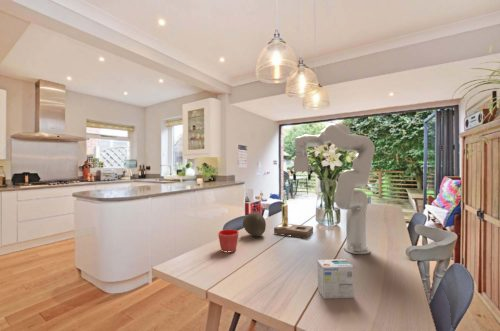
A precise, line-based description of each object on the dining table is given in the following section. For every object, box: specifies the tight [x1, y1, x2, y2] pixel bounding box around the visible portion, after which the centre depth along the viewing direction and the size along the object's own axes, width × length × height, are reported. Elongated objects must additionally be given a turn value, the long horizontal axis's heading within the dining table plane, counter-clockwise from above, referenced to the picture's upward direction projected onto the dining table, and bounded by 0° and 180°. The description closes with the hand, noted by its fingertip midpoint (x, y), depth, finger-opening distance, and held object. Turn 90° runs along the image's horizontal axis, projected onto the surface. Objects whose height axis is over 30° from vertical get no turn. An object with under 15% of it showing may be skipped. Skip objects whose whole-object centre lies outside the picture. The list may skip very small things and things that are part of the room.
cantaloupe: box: [242, 212, 267, 237], centre depth 149 cm, size 14×14×15 cm
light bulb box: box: [316, 258, 355, 300], centre depth 81 cm, size 11×7×11 cm, turn 92°
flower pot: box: [217, 229, 239, 252], centre depth 125 cm, size 11×11×10 cm
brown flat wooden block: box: [273, 222, 314, 239], centre depth 154 cm, size 14×22×4 cm, turn 61°
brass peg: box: [281, 203, 289, 227], centre depth 157 cm, size 4×4×14 cm
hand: (302, 180), depth 158 cm, fingers open, 9 cm apart
